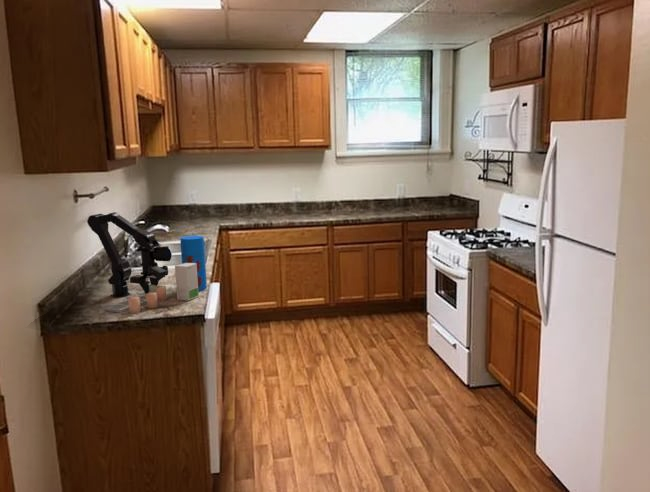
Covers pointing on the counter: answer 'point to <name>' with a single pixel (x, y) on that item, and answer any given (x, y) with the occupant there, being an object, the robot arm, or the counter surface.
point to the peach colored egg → (134, 305)
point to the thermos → (195, 257)
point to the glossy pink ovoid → (161, 293)
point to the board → (124, 306)
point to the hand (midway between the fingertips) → (151, 294)
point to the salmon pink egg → (151, 300)
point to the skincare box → (186, 281)
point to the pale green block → (151, 288)
